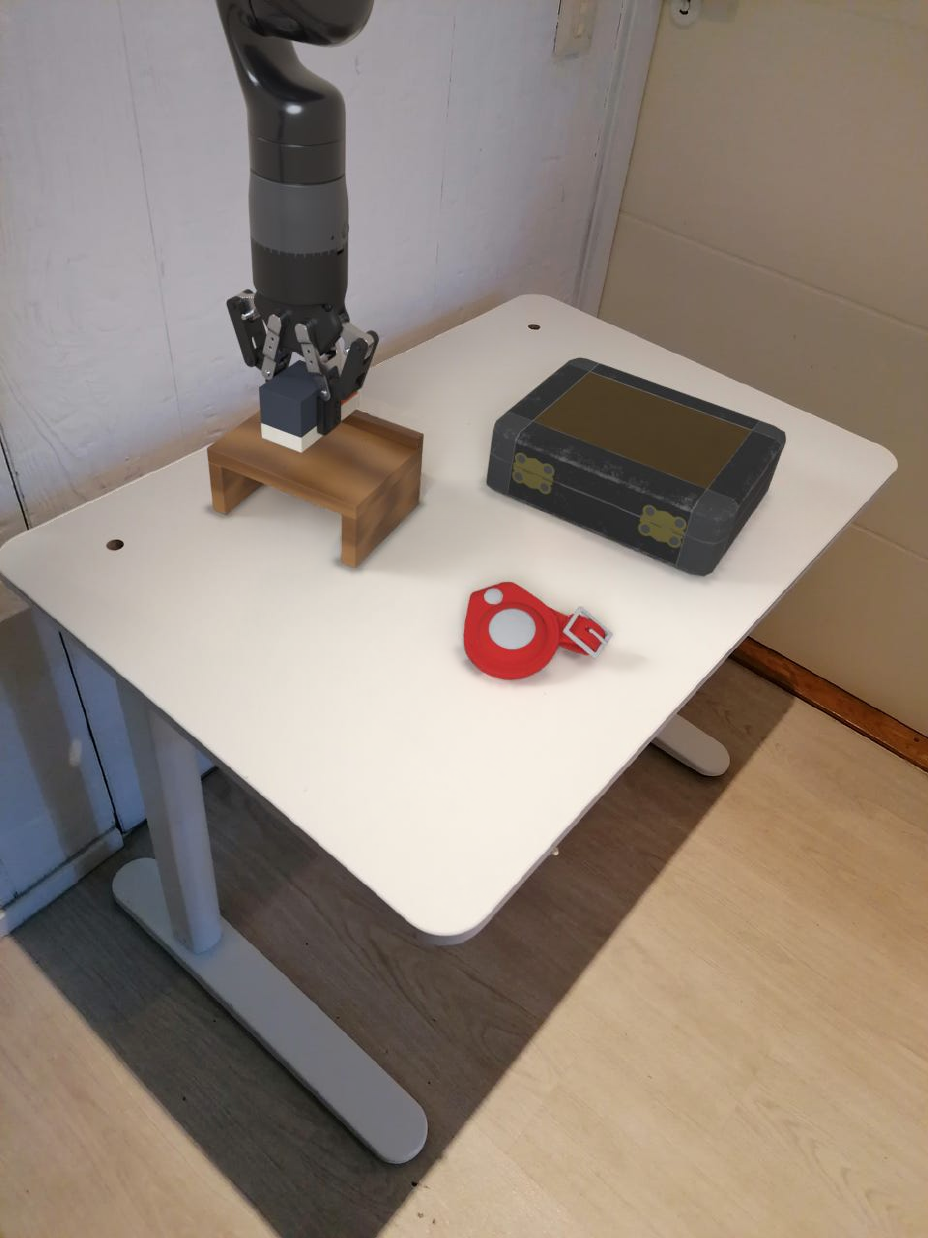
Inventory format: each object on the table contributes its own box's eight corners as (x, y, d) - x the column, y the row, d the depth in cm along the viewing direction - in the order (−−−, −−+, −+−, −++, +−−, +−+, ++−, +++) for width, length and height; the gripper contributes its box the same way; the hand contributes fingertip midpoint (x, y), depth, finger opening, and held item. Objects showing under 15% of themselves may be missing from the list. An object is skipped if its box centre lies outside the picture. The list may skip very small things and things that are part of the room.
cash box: (772, 487, 105) (794, 425, 100) (706, 585, 91) (728, 519, 86) (567, 409, 113) (578, 348, 108) (479, 488, 100) (487, 423, 95)
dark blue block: (301, 453, 84) (300, 402, 81) (261, 437, 85) (258, 386, 82) (359, 406, 90) (360, 357, 87) (321, 393, 92) (321, 344, 88)
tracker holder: (485, 688, 77) (441, 589, 82) (486, 710, 81) (444, 615, 86) (623, 637, 79) (572, 543, 84) (617, 661, 83) (569, 570, 88)
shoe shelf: (355, 568, 89) (356, 495, 83) (212, 509, 93) (205, 436, 88) (419, 504, 97) (424, 433, 91) (285, 453, 101) (282, 382, 96)
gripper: (193, 220, 74) (212, 415, 86) (352, 270, 70) (349, 468, 82) (252, 193, 80) (263, 381, 91) (403, 238, 75) (394, 429, 87)
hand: (304, 421), depth 86 cm, fingers closed on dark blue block, 4 cm apart
